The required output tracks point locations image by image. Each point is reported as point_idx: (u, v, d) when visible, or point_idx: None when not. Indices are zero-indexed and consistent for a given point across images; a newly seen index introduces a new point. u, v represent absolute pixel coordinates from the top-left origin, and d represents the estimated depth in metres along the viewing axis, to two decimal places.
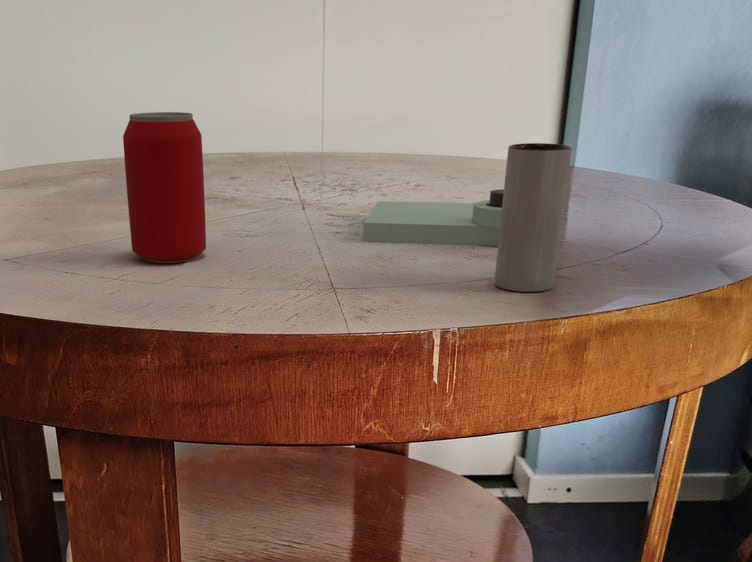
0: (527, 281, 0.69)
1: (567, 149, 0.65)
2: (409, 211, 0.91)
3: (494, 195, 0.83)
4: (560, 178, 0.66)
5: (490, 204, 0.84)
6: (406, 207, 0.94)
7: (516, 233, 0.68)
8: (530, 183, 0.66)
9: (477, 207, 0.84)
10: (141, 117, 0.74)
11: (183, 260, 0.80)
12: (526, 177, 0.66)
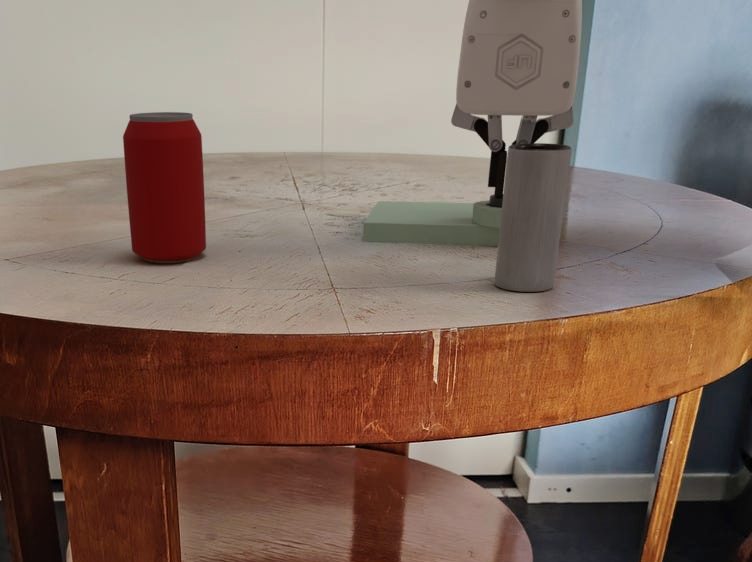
0: (527, 281, 0.69)
1: (567, 149, 0.65)
2: (409, 211, 0.91)
3: (494, 200, 0.84)
4: (560, 178, 0.66)
5: None
6: (406, 207, 0.94)
7: (516, 233, 0.68)
8: (530, 183, 0.66)
9: (477, 207, 0.84)
10: (141, 117, 0.74)
11: (183, 260, 0.80)
12: (526, 177, 0.66)
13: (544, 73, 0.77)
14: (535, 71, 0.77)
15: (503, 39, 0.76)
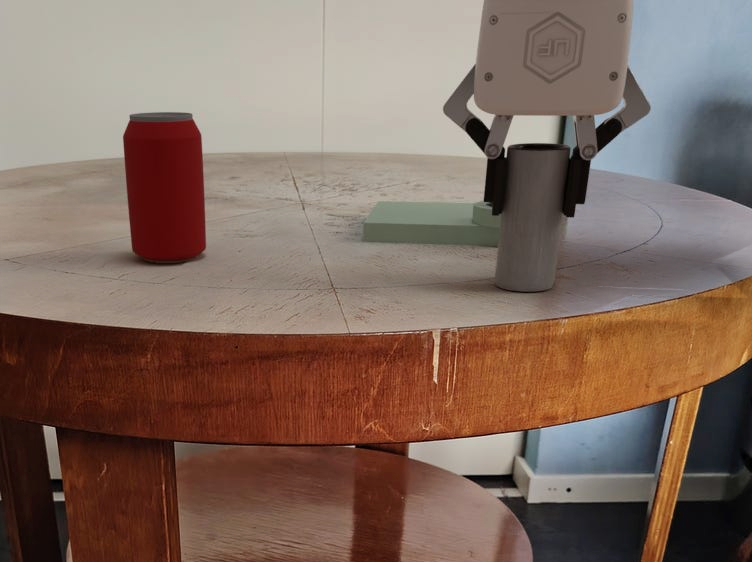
0: (527, 281, 0.69)
1: (566, 149, 0.65)
2: (409, 211, 0.91)
3: None
4: (559, 178, 0.66)
5: (490, 204, 0.84)
6: (406, 207, 0.94)
7: (516, 233, 0.68)
8: (529, 183, 0.66)
9: (477, 207, 0.84)
10: (141, 117, 0.74)
11: (183, 260, 0.80)
12: (526, 177, 0.66)
13: (586, 62, 0.61)
14: (574, 59, 0.61)
15: (534, 19, 0.60)
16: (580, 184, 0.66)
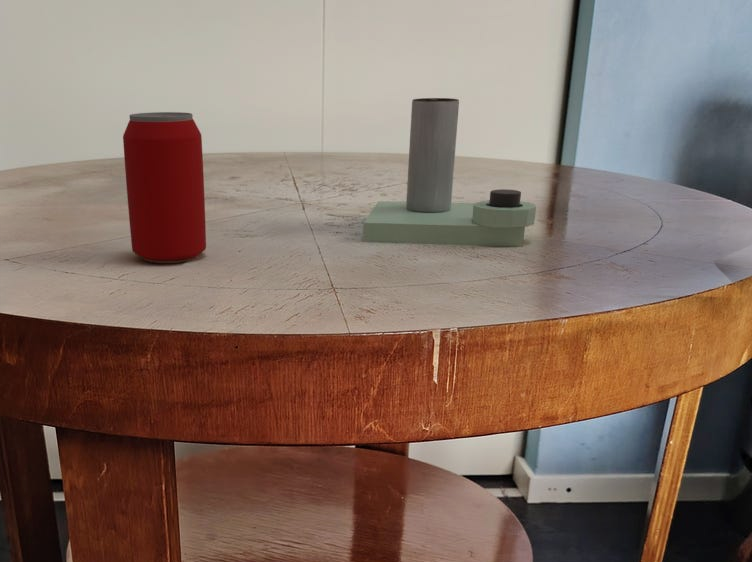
0: (428, 204, 0.90)
1: (454, 101, 0.86)
2: (409, 211, 0.91)
3: (494, 195, 0.83)
4: (450, 123, 0.87)
5: (490, 204, 0.84)
6: None
7: (419, 166, 0.89)
8: (427, 127, 0.87)
9: (477, 207, 0.84)
10: (141, 117, 0.74)
11: (183, 260, 0.80)
12: (424, 122, 0.87)
13: None
14: None
15: None
16: None
